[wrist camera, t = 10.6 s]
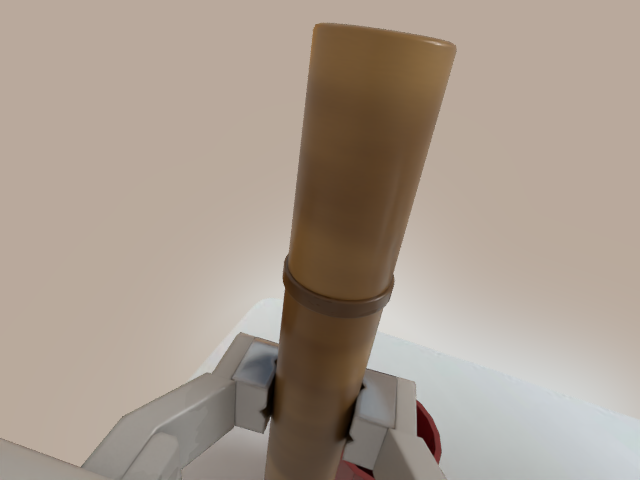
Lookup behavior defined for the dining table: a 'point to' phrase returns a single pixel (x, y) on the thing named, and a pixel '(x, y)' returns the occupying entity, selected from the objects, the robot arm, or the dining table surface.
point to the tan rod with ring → (347, 228)
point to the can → (354, 476)
